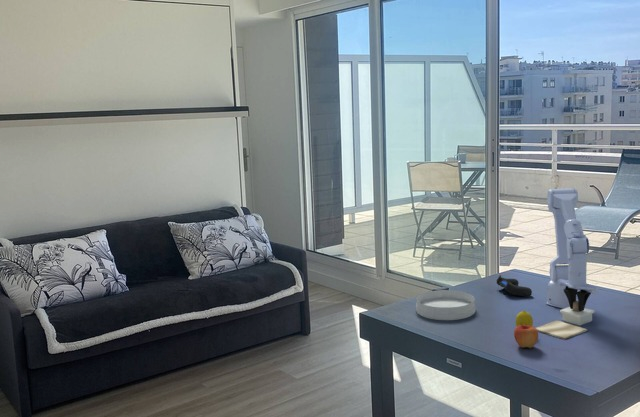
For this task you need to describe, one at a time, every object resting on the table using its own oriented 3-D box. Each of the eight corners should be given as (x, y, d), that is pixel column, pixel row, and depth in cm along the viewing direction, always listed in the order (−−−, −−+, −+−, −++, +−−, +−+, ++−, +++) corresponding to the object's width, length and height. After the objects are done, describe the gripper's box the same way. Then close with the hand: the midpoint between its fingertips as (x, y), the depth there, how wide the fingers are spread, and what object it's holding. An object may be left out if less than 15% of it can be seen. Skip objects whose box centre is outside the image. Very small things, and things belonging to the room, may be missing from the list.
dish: (451, 325, 228) (450, 311, 227) (404, 312, 245) (403, 299, 244) (487, 309, 242) (487, 296, 242) (440, 298, 259) (440, 286, 258)
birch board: (534, 329, 218) (534, 328, 218) (556, 321, 225) (556, 320, 225) (564, 339, 208) (564, 337, 208) (587, 330, 215) (587, 329, 215)
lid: (559, 314, 226) (560, 301, 225) (574, 309, 230) (574, 297, 229) (580, 320, 219) (580, 307, 218) (594, 314, 223) (594, 302, 222)
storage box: (562, 320, 226) (562, 312, 225) (574, 316, 230) (574, 308, 229) (579, 325, 220) (579, 317, 219) (592, 320, 224) (592, 312, 223)
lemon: (524, 337, 212) (524, 314, 211) (512, 332, 217) (512, 310, 216) (536, 334, 214) (536, 311, 213) (524, 329, 219) (524, 307, 218)
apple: (540, 351, 200) (540, 327, 199) (515, 351, 201) (515, 327, 200) (536, 342, 207) (536, 319, 206) (512, 342, 208) (512, 319, 207)
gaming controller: (511, 292, 270) (491, 281, 268) (518, 280, 269) (498, 269, 268) (528, 304, 253) (507, 293, 252) (535, 291, 253) (514, 280, 251)
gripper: (552, 269, 226) (552, 306, 228) (589, 277, 214) (588, 316, 216) (564, 266, 229) (564, 302, 232) (602, 273, 218) (601, 312, 220)
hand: (577, 309), depth 224 cm, fingers closed on lid, 3 cm apart
